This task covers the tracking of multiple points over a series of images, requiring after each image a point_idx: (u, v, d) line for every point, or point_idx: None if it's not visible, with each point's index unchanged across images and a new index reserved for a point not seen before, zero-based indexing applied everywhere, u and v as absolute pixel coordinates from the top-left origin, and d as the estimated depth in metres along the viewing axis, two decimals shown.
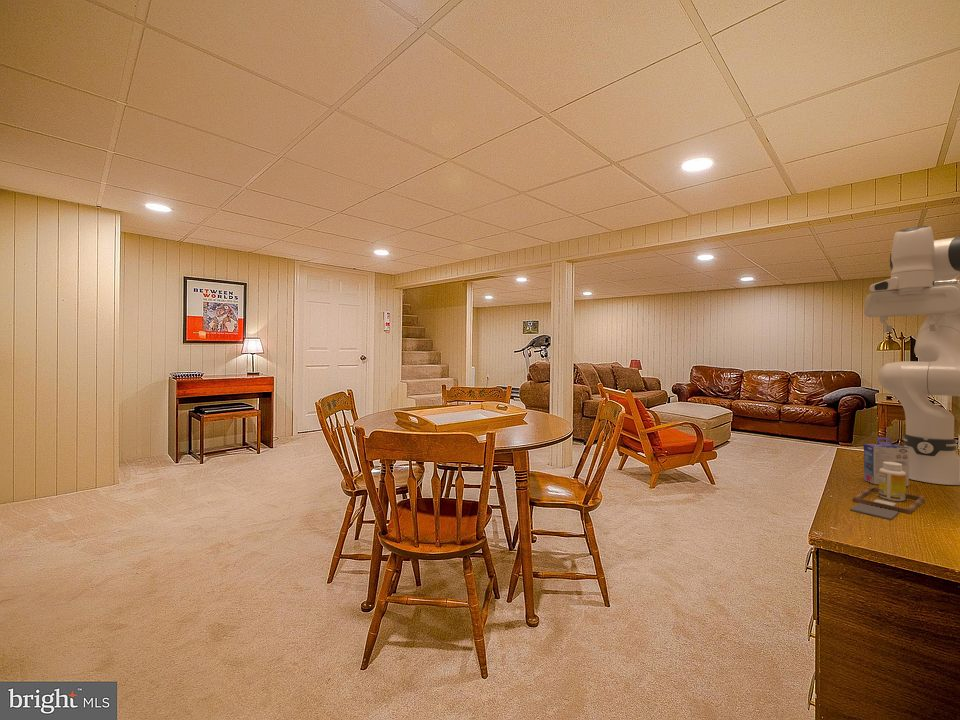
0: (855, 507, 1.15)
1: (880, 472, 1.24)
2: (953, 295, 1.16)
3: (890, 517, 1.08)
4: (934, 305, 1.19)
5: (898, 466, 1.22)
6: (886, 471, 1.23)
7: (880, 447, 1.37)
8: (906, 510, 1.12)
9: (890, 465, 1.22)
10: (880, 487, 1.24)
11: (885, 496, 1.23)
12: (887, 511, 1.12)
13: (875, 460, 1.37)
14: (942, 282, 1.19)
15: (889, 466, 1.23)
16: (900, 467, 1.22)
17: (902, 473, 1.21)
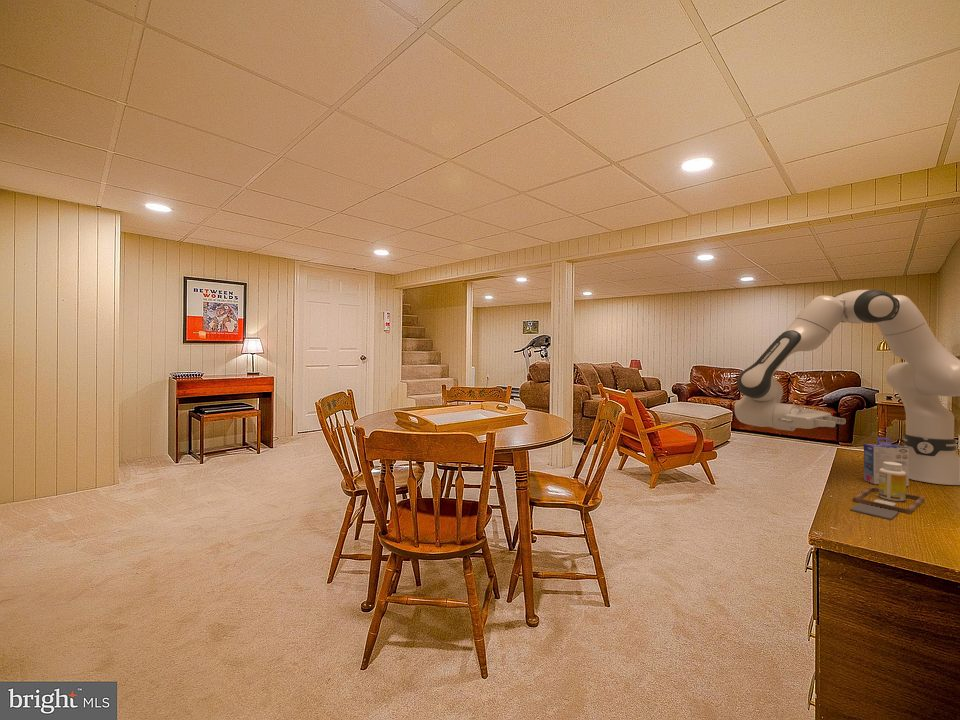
0: (855, 507, 1.15)
1: (880, 472, 1.24)
2: (793, 426, 1.36)
3: (890, 517, 1.08)
4: None
5: (898, 466, 1.22)
6: (886, 471, 1.23)
7: (880, 447, 1.37)
8: (906, 510, 1.12)
9: (890, 465, 1.22)
10: (880, 487, 1.24)
11: (885, 496, 1.23)
12: (887, 511, 1.12)
13: (875, 460, 1.37)
14: None
15: (889, 466, 1.23)
16: (900, 467, 1.22)
17: (902, 473, 1.21)
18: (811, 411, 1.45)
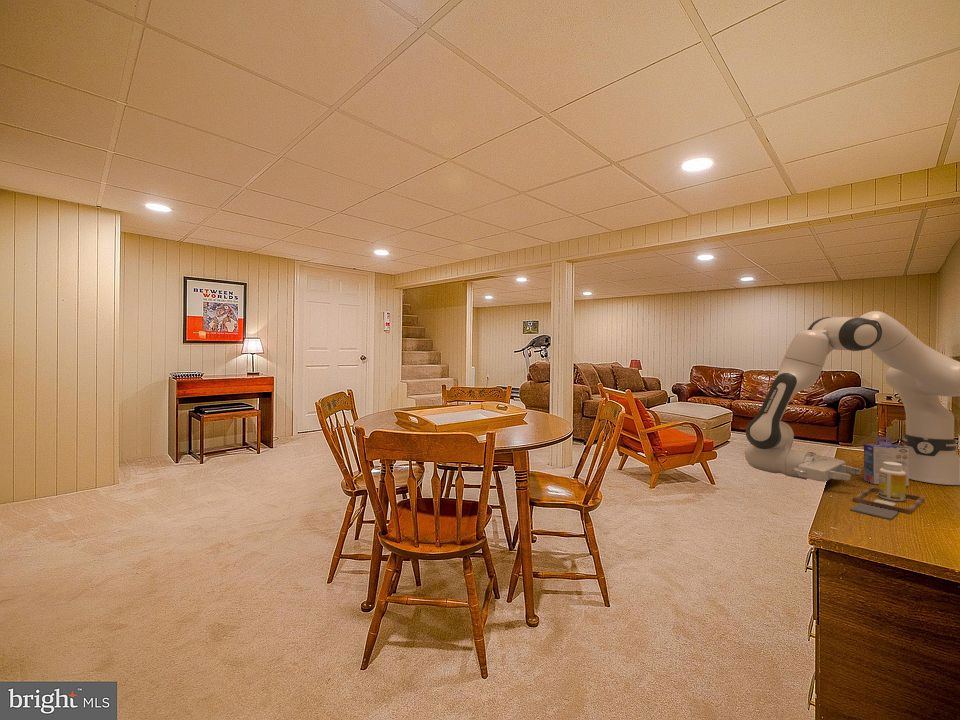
0: (855, 507, 1.15)
1: (880, 472, 1.24)
2: None
3: (890, 517, 1.08)
4: None
5: (898, 466, 1.22)
6: (886, 471, 1.23)
7: (880, 447, 1.37)
8: (906, 510, 1.12)
9: (890, 465, 1.22)
10: (880, 487, 1.24)
11: (885, 496, 1.23)
12: (887, 511, 1.12)
13: (875, 460, 1.37)
14: None
15: (889, 466, 1.23)
16: (900, 467, 1.22)
17: (902, 473, 1.21)
18: (824, 458, 1.43)
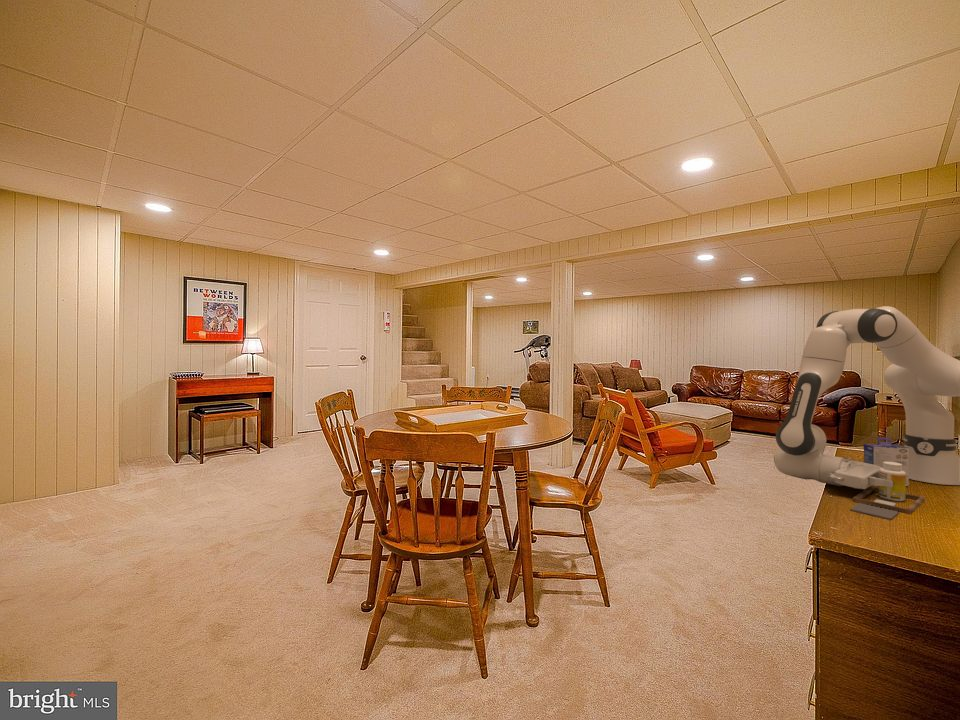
0: (855, 507, 1.15)
1: (880, 472, 1.24)
2: None
3: (890, 517, 1.08)
4: None
5: (898, 466, 1.22)
6: (886, 471, 1.23)
7: (880, 447, 1.37)
8: (906, 510, 1.12)
9: (890, 465, 1.22)
10: (880, 487, 1.24)
11: (885, 496, 1.23)
12: (887, 511, 1.12)
13: (875, 460, 1.37)
14: None
15: (889, 466, 1.23)
16: (900, 467, 1.22)
17: (902, 473, 1.21)
18: (860, 464, 1.35)
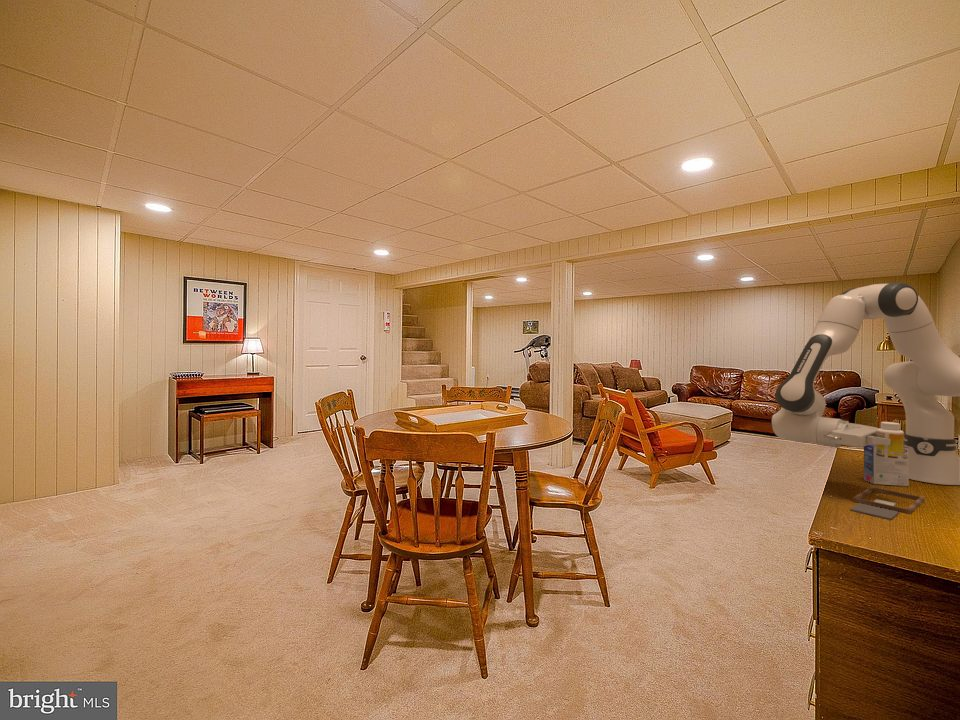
0: (855, 507, 1.15)
1: (878, 432, 1.23)
2: None
3: (890, 517, 1.08)
4: None
5: (896, 425, 1.20)
6: (884, 430, 1.21)
7: None
8: (906, 510, 1.12)
9: (888, 424, 1.21)
10: (877, 447, 1.23)
11: (882, 456, 1.21)
12: (887, 511, 1.12)
13: (875, 460, 1.37)
14: None
15: (887, 425, 1.21)
16: (898, 426, 1.20)
17: (900, 432, 1.19)
18: (858, 426, 1.34)
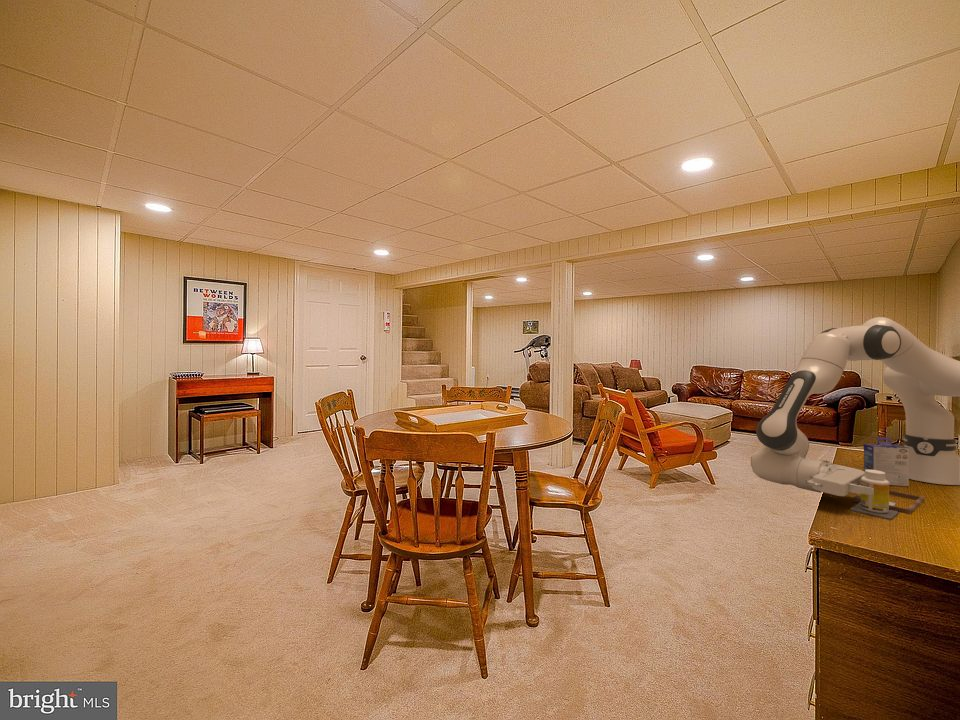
0: (855, 507, 1.15)
1: (861, 481, 1.14)
2: None
3: (890, 517, 1.08)
4: None
5: (881, 475, 1.11)
6: (868, 480, 1.12)
7: (880, 447, 1.37)
8: (906, 510, 1.12)
9: (872, 473, 1.12)
10: (861, 497, 1.14)
11: (867, 507, 1.13)
12: None
13: (875, 460, 1.37)
14: None
15: (871, 474, 1.12)
16: (883, 476, 1.11)
17: (885, 482, 1.11)
18: (842, 468, 1.25)
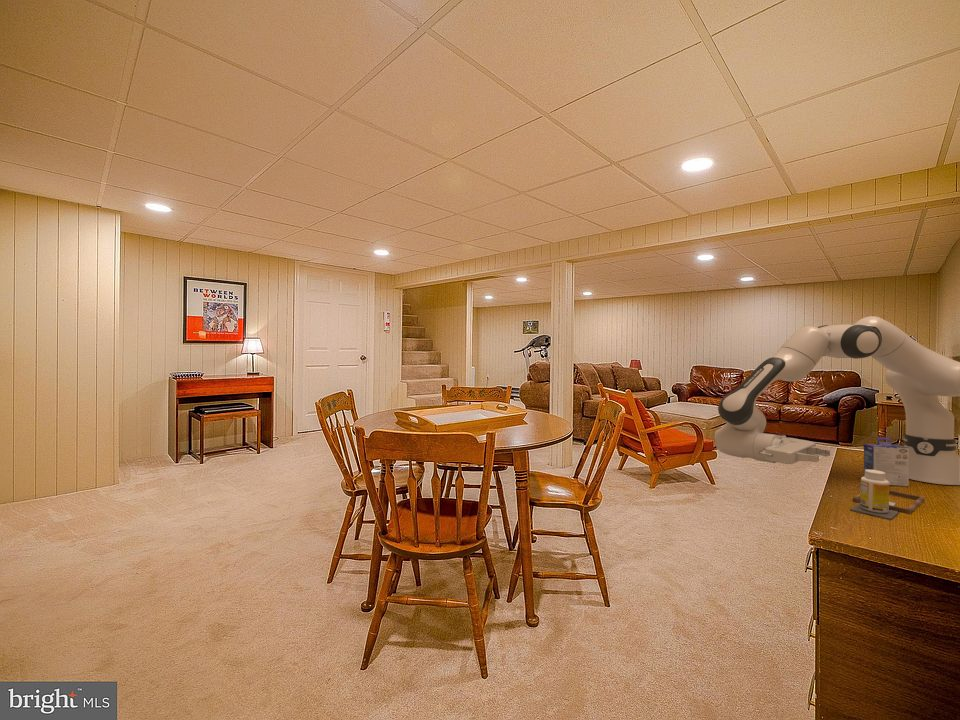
0: (855, 507, 1.15)
1: (862, 481, 1.14)
2: None
3: (890, 517, 1.08)
4: None
5: (881, 475, 1.11)
6: (868, 480, 1.12)
7: (880, 447, 1.37)
8: (906, 510, 1.12)
9: (872, 473, 1.12)
10: (861, 497, 1.14)
11: (867, 507, 1.13)
12: None
13: (875, 460, 1.37)
14: None
15: (871, 474, 1.12)
16: (883, 476, 1.11)
17: (885, 482, 1.11)
18: (794, 440, 1.36)
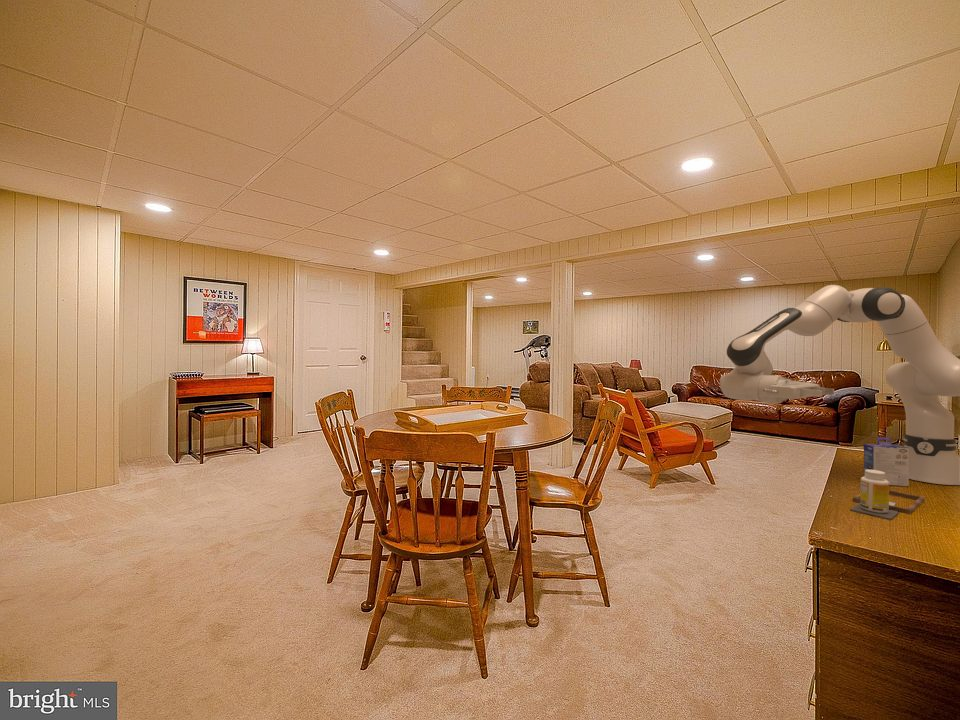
0: (855, 507, 1.15)
1: (861, 481, 1.14)
2: (779, 397, 1.29)
3: (890, 517, 1.08)
4: None
5: (881, 475, 1.11)
6: (868, 480, 1.12)
7: (880, 447, 1.37)
8: (906, 510, 1.12)
9: (872, 473, 1.12)
10: (861, 497, 1.14)
11: (867, 507, 1.13)
12: None
13: (875, 460, 1.37)
14: None
15: (871, 474, 1.12)
16: (883, 476, 1.11)
17: (885, 482, 1.11)
18: (799, 383, 1.38)
